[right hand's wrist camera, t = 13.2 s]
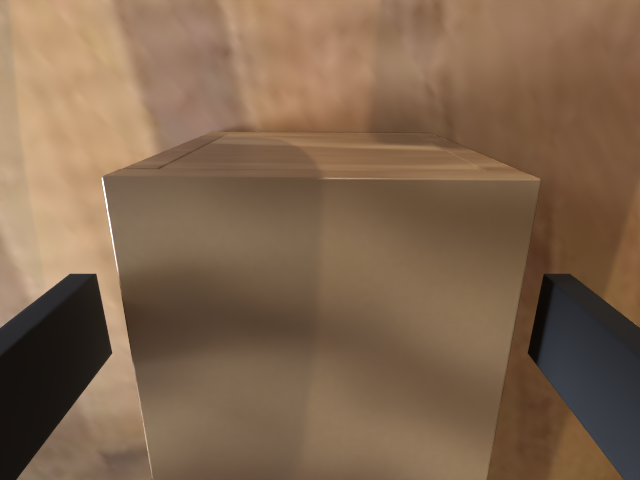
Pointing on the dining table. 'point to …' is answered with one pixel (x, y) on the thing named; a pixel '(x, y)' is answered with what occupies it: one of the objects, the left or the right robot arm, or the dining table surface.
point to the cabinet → (320, 303)
